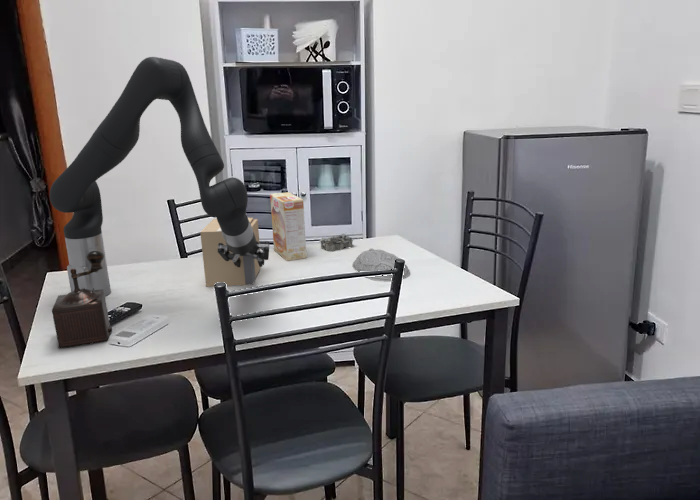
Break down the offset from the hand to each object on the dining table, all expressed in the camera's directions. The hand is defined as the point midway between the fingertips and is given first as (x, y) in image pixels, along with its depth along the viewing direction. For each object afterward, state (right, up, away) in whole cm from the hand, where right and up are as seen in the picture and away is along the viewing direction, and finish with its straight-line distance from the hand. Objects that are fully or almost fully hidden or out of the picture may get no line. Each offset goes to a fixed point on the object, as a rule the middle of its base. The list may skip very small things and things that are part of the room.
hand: (250, 264), depth 163 cm
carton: (-7, -4, +11) cm, 14 cm away
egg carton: (+23, +5, +38) cm, 45 cm away
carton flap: (0, -4, +8) cm, 9 cm away
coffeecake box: (+8, +2, +32) cm, 33 cm away
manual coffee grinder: (-34, -16, -25) cm, 45 cm away
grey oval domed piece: (+37, -2, +14) cm, 40 cm away
